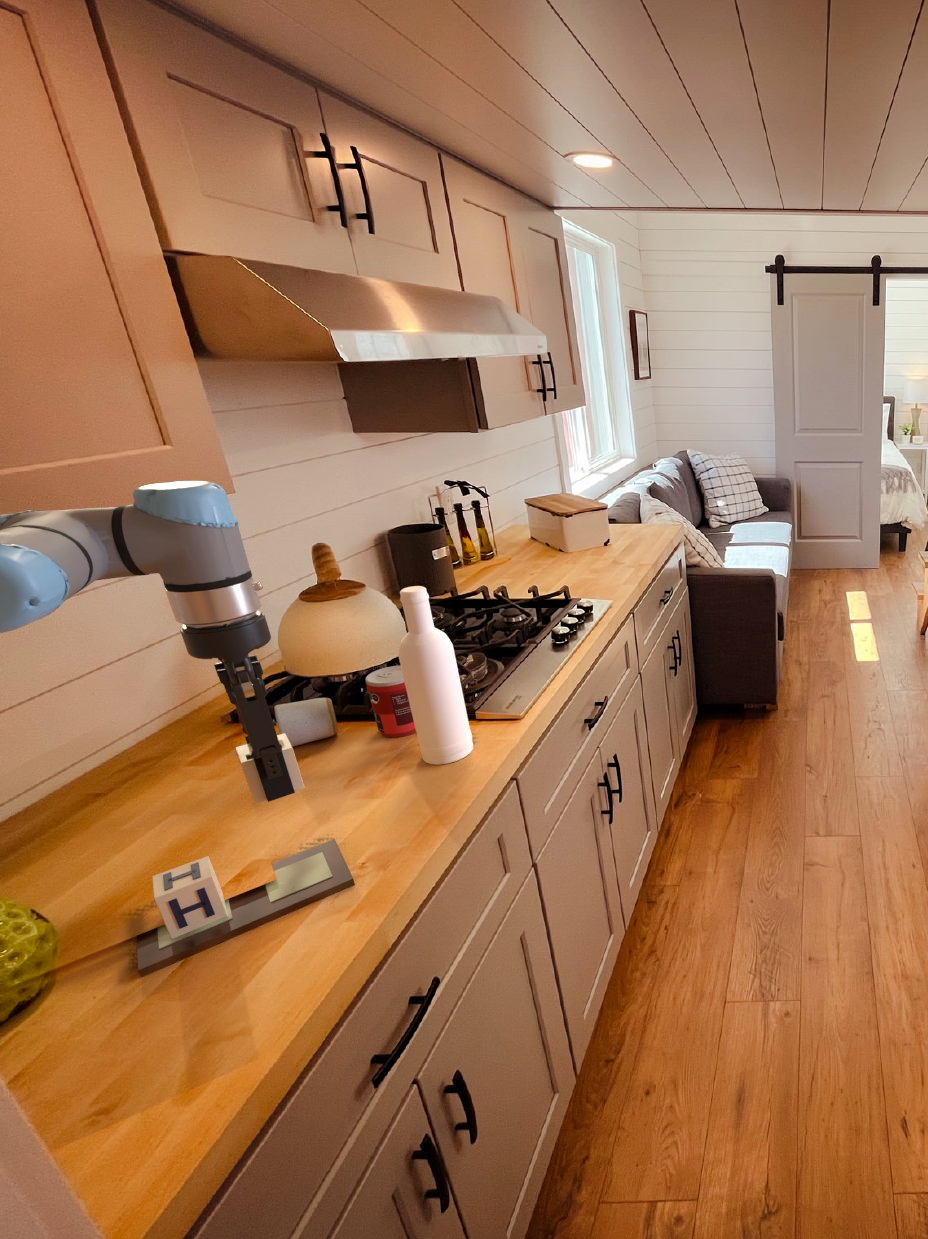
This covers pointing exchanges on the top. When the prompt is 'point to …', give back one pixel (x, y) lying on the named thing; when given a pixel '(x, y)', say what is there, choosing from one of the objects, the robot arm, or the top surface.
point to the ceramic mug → (306, 720)
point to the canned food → (390, 702)
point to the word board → (253, 906)
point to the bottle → (432, 683)
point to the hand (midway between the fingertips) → (276, 786)
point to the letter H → (189, 897)
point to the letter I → (252, 772)
